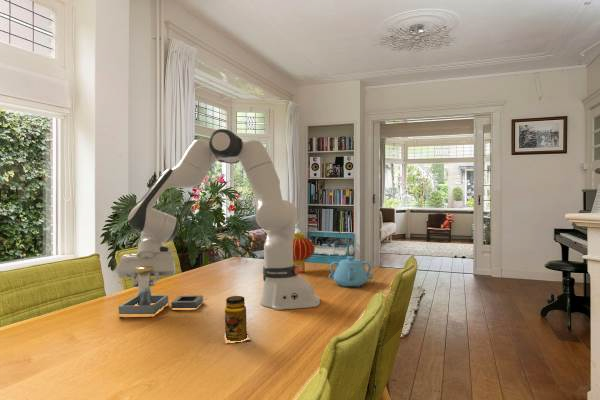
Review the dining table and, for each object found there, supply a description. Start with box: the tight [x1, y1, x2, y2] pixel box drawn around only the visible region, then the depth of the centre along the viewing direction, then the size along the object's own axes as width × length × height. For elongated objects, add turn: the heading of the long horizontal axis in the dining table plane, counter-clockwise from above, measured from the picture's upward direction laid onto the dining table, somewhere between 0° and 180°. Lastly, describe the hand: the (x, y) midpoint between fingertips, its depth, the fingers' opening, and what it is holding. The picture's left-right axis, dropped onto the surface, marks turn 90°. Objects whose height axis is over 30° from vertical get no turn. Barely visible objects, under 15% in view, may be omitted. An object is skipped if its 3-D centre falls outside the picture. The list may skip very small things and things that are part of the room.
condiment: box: [224, 295, 249, 341], centre depth 112 cm, size 7×8×12 cm
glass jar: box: [135, 266, 153, 305], centre depth 139 cm, size 6×6×13 cm
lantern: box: [293, 214, 316, 274], centre depth 202 cm, size 17×17×30 cm
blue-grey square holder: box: [170, 294, 204, 309], centre depth 144 cm, size 9×9×3 cm
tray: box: [118, 294, 169, 315], centre depth 139 cm, size 12×14×4 cm
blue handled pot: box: [328, 255, 373, 288], centre depth 172 cm, size 20×20×13 cm
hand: (143, 285), depth 139 cm, fingers closed on glass jar, 4 cm apart
